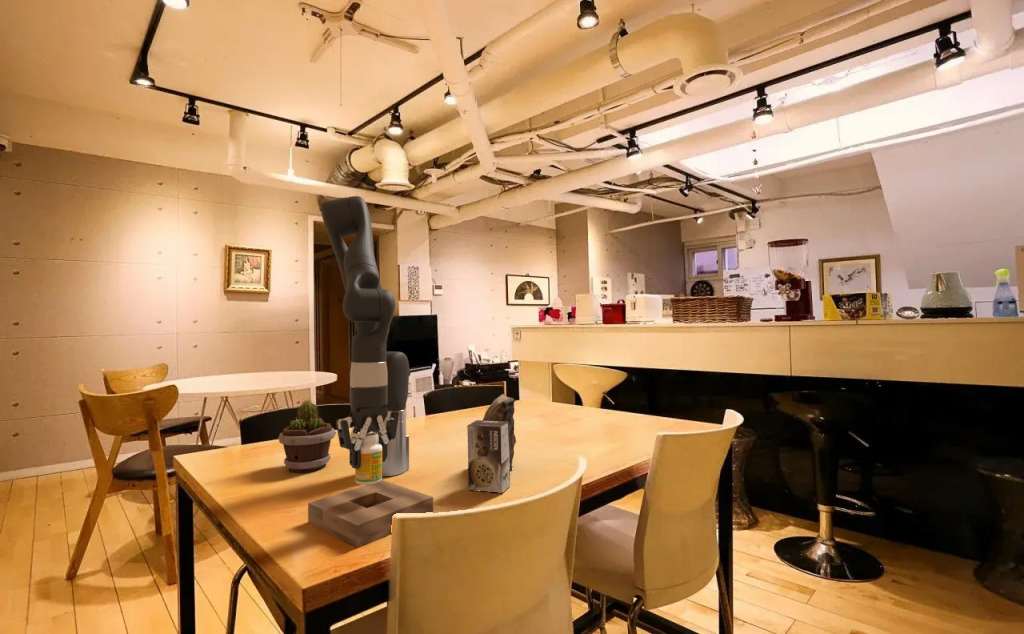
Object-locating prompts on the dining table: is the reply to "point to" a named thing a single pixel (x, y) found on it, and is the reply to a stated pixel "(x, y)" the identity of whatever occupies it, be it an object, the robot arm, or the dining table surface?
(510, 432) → the owl
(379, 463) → the supplement bottle
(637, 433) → the dining table surface
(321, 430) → the flowerpot
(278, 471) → the dining table surface
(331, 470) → the dining table surface
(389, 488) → the socket board
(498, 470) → the coffee box
